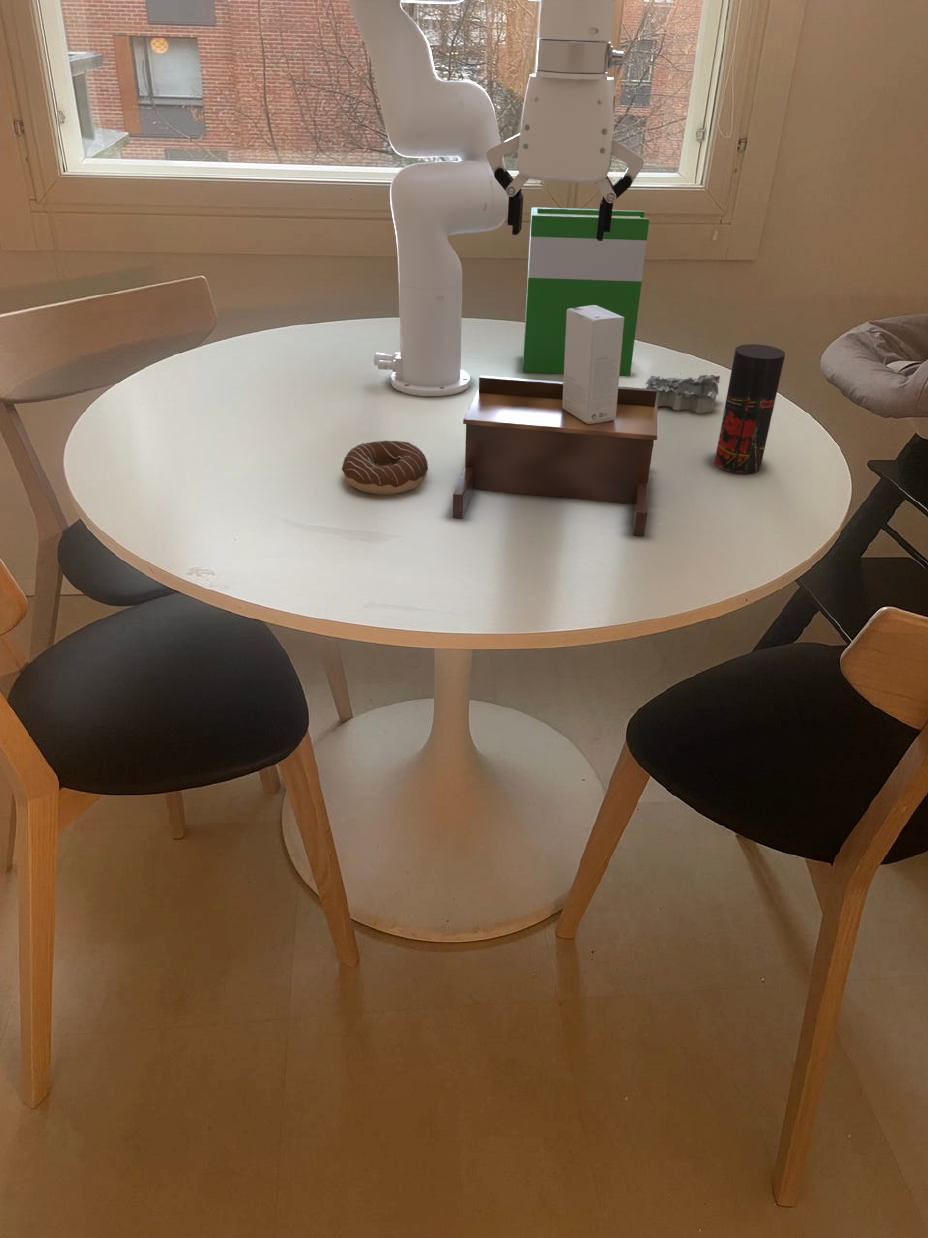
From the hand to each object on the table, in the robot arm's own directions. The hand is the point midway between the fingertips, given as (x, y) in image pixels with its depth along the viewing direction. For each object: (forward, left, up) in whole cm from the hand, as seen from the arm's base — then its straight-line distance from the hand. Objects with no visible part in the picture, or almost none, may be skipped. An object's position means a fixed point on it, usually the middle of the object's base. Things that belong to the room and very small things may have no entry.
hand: (558, 235), depth 104 cm
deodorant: (+26, +4, -28) cm, 38 cm away
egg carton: (+19, +26, -28) cm, 43 cm away
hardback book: (+2, +40, -28) cm, 49 cm away
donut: (-18, -11, -28) cm, 35 cm away
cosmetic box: (+5, -6, -19) cm, 21 cm away
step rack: (+3, -10, -28) cm, 30 cm away
